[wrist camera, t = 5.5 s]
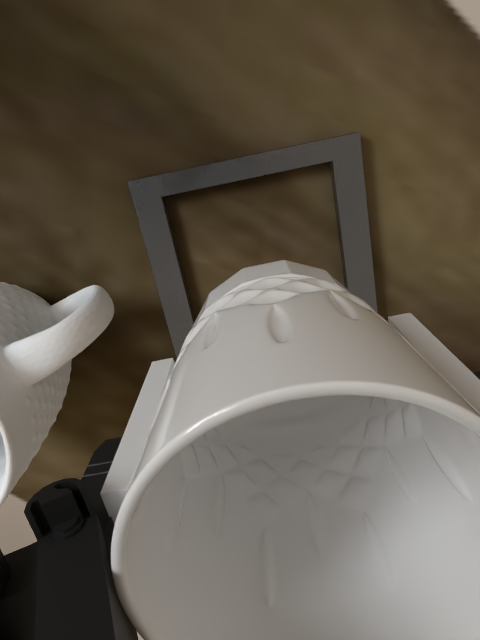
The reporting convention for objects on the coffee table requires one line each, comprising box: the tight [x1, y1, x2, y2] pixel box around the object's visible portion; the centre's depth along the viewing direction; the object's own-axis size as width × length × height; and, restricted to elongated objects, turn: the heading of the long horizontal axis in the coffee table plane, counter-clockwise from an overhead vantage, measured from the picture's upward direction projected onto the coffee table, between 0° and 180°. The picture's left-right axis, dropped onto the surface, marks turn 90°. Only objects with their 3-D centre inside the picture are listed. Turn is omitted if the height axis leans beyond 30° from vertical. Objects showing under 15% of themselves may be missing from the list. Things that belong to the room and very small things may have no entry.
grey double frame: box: [128, 132, 378, 358], centre depth 32 cm, size 25×14×1 cm, turn 11°
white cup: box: [111, 260, 480, 640], centre depth 13 cm, size 8×8×10 cm
